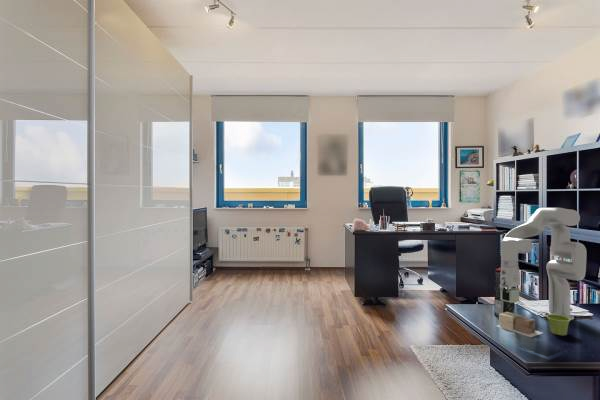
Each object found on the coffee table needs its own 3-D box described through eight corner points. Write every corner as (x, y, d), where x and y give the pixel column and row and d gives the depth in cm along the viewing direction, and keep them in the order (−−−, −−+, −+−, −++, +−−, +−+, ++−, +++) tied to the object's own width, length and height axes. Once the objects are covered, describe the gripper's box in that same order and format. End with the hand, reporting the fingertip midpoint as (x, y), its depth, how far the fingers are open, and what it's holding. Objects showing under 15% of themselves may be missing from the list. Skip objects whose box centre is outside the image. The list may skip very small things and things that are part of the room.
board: (508, 324, 183) (508, 322, 183) (543, 335, 168) (543, 332, 168) (495, 328, 178) (495, 325, 178) (530, 339, 163) (530, 337, 163)
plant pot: (564, 340, 162) (564, 321, 162) (542, 333, 170) (542, 316, 170) (574, 336, 166) (574, 318, 166) (553, 330, 174) (552, 313, 175)
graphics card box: (502, 310, 206) (502, 264, 206) (516, 313, 201) (515, 266, 201) (494, 317, 194) (493, 269, 194) (508, 320, 189) (507, 270, 189)
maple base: (507, 323, 182) (507, 311, 182) (521, 327, 176) (520, 315, 176) (499, 325, 179) (498, 313, 179) (512, 329, 172) (512, 317, 172)
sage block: (519, 301, 176) (519, 289, 176) (512, 303, 173) (512, 290, 173) (507, 298, 181) (507, 286, 181) (500, 300, 178) (500, 288, 178)
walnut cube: (522, 328, 175) (522, 316, 175) (535, 332, 169) (535, 319, 169) (515, 330, 172) (515, 318, 172) (528, 334, 166) (528, 321, 166)
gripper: (506, 266, 170) (507, 303, 170) (526, 263, 178) (527, 298, 178) (491, 264, 176) (492, 299, 176) (512, 261, 185) (512, 295, 184)
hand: (509, 298), depth 177 cm, fingers closed on sage block, 6 cm apart
